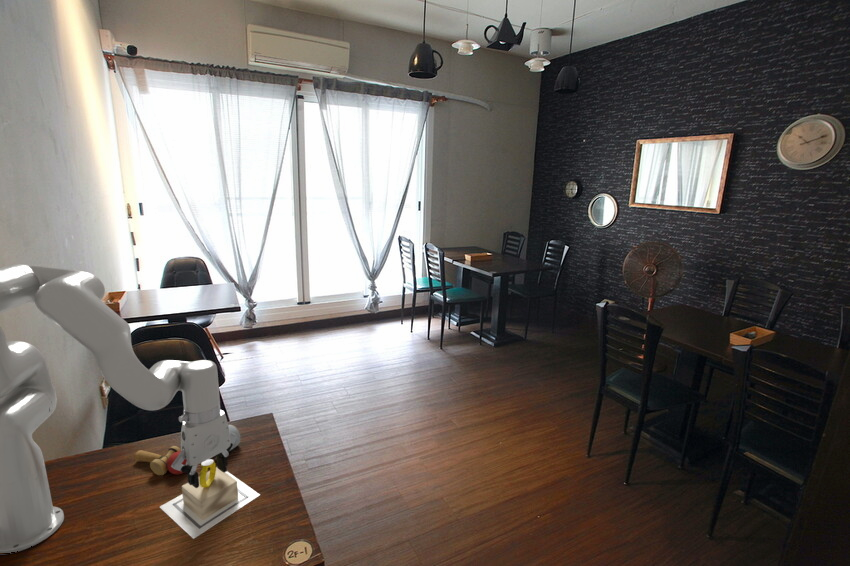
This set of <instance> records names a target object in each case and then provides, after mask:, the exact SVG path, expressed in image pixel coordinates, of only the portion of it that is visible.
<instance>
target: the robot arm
mask: <svg viewBox="0 0 850 566" xmlns="http://www.w3.org/2000/svg"><path fill="white" fill-rule="evenodd" d="M105 293H106V290H105V285H104V283H103V281H102V280H101V279H100V278H99V277H98V276H96V275H94V273H91V272H87V271H83V270H78V269H71V268H70V269H69V268H61V267H52V266H45V265H44V266H43V265H35V264H25V263H24V264H23V263H20V264H18V263H15V264H8V265H5V266H4V265H3V266H1V267H0V314H2V313H5V312H8V311H10V310H13V309H15V308H17V307H20V306H22V305H25V304H26V303H34V305H35V306H36V308H37V309H38V310H39V311H40V312H41V313H42V314H43V315H44V316H45V317H46V318H48V319H49V320H50V321H51V322H53V323H54V324H56V325H57V326H58V327H59V328H61V330H63V331H64V332H66V333H67V334H69V336H71V337H72V338H73V339H74V340H76V341H77V342H78V343H79V344H80V345H82V346H83V347H84V348H86V349H87V350H88V351H89V352H90V353H91V354H92V356H93V357H94V360H95V364H96V365H97V367H98V369H99V370H100V373H101V375H102V376H103V378H104V379H105V381H106V383H108V385H109V386H110V387H111V388H112V389H113V390H114V391H115V392H116V393H118V394H119V395H120V396H121V397H123V398H124V399H125V400H126V401H128V402H129V403H131V404H132V405H134V406H135V407H137V408H139V409H142V410H144V411H158V410H161V409H164V408H165V407H166V406H168V405H169V404H170V403H171V401H172V400H173V398H174V397H175V395H176V394H177V392H178V391H180V392H182V403H183V410H182V412H183V413H182V414H181V416H179V417H178V421H179V422H180V423H182V425H181V430H180V449H181V452H180V453H179V455H178V456H177V458H176V459H175V461H174V462H173V463H172V465H171V467H172V468H174V469H175V470H179V471H182V472H184V474H186V475H187V476H186V477H187V483H189V484H190V485H193V486H194V487H195V488H198V487H199V478H198V477H199V473H198V471H197V469H198V465H201V463H202V462H204V461H206V460H208V459H212V458H213V457H215V458H216V457H217V459H216V467H217V468H218V469H219V470H221V471H222V472H226V471H228V469H227V466H228V456H229V452H231V451H230V449H231V448H232V446H233V443H234V442H235V440H236V439H237V435H235V434H233V433H231V432H229V427H228V425H229V423H228V419H227V416H226V413H225V411H224V410H222V409H221V399H220V389H219V388H220V386H219V377H218V376H219V375H218V374H219V373H218V366H217V364H216V363H215V362H214V361H212V360H210V359H208V360H207V359H199V360H193V361H187V360H186V361H185V360H174V359H164V360H160V361H157V362H156V363H154V364H153V365H152V366H151V367H150V368H147V367H146V366H145V365H144V364H143V363H142V362H141V361H140V359H139V358H138V357H137V355H136V354H135V352H134V349H133V345H132V335H131V334H132V333H131V327H130V324H129V323H128V322H127V321H126V320H125V319H124V318H122V317H121V316H120V315H119V314H118V313H117V312H116V311H114V309H112V308H110V307H109V306H108V304H106V303H105V302H104V301H103V298H104V296H105ZM57 402H58V399H57V392H56V389H55V385H54V382H53V380H52V376H51V373H50V370H49V367H48V363H47V360H46V358H45V356H44V354H43V353H42V352H41V351H40V349H38V348H37V347H36V346H35V345H33V344H31V343H29V342H26V341H20V340H11V341H7V337H6V333H5V332H4V330H3V328H2V327H1V326H0V553H10V554H12V553H11V552H15V553H18V552H21V551H24V550H27V549H29V548H31V546H32V547H33V546H36V545H37V544H40V543H42V542H43V541H45V540H46V539H48V538H49V537H50V536H51V535H53V534H54V533H55V532H56V531H58V529H59V528H60V527H61V525H62V524H63V522H64V520H65V514H64V511H63V509H61V508H60V507H58V506H53V501H52V495H51V490H50V485H49V479H48V475H47V469H46V464H45V459H44V455H43V452H42V450H41V447H40V446H39V445H38V444H37V443H36V442H35V441H34V439H33V433H34V432H35V431H36V430H38V428H39V427H40V426H41V425H42V424H43V423H44V422H45V421H47V419H48V418H49V417H51V415H52V414H53V413H54V411H55V410H56V407H57V404H58V403H57ZM184 459H187V462H186V465H184V464H182V462H183V461H184ZM17 551H18V552H17Z"/></svg>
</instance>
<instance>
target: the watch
mask: <svg viewBox="0 0 850 566" xmlns="http://www.w3.org/2000/svg"><path fill="white" fill-rule="evenodd" d="M200 466H201V471H200V473H199V476H200V485H201V487H209V486H210V485H211V483H212V482H213V480H214V478H215V474H216V467H217V462H215V459H212V458H210V459H208V460H206V461H204V462H202V463H200ZM208 471H210V474H209V478H208V480H207V482H206V475H207V472H208Z"/></svg>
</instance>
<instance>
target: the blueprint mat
mask: <svg viewBox="0 0 850 566" xmlns="http://www.w3.org/2000/svg"><path fill="white" fill-rule="evenodd" d="M225 473H226V474H228V475H229V476H231V477H232V478H233V479H235V480H236V481H237V489H238V498H237V499H236V500H234V501H233V502H231V503H229V504H228V505H226V506H225V507H223V508H222V509H220V510H218V511H217V512H215V513H214V514H212V515H211V516H209V517H207V518H206V519H204V520H202V519H201V518H200V517H199V516H197V515H196V514H195V513H194V512H193V511H192V510H191V509H189V508H188V507H187V506H186V505H185V504H184V503H183V494H180V495H178V496H177V497H174V498H173V499H171V500H169V501H167V502H166V503H164V504H161V505H160V506H159V508H160V509H161V510H162V512H164V513H165V514H166V515H167V516H168V517H170V518H171V519H172V520H173V521H174V522H175V523H176V525H178V527H180V528H181V529H182V530H183V531H184V532H185V533H187V535H189V537H191V538H192V539H193V540H195V539H196V538H198V537H199V536H200V535H202V534H203V533H205V532H206V531H208V530H210V529H211V528H213V527H214V526H215V525H217V524H219V523H221V522H222V521H223V520H225V519H226V518H228V517H229V516H232V514H234V513H236V512H237V511H238V510H240V509H241V508H243V507H244V506H246V505H248V504H249V503H250V502H252V501H253V500H255V499H257V498H258V497H259V496H261V494H260V493H259V492H257V491H256V490H254V489H253V488H251V487H250V486H249V485H247V484H246V483H245V482H243V481H242V480H240V478H238V477H236V476H235V475H233V474H232V473H230V472H229V471H228V470H227V471H226V472H225Z"/></svg>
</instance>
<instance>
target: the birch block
mask: <svg viewBox="0 0 850 566" xmlns="http://www.w3.org/2000/svg"><path fill="white" fill-rule="evenodd" d="M209 474H210V470H207V475H206V482H207V480H208V478H209ZM198 478H199V487H198V488H195V487H194V486H193V485H190V484H189V483H188V482H187V483H184V484H183V485H181V492H182V494H183V503H184V504H185V505H186V506H187V507H188V508H189V509H191V510H192V511H193V512H194V513H195V514H196V515H197V516H199V517H200V518H201V519H202V520H204V519H206V518H207V517H209V516H211V515H212V514H214V513H215V512H217V511H218V510H220V509H222V508H223V507H225V506H226V505H228V504H229V503H231V502H233V501H234V500H236V499H237V498H238V489H237V481H236V480H235V479H233V478H232V477H231V476H229V475H228V474H226V473H225V472H222V471H221V470H219V469H218V468H217V466H216V474H215V478H214V480H213V482H212V483H211V485H210V486H209V487H201V485H200V475H198Z"/></svg>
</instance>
